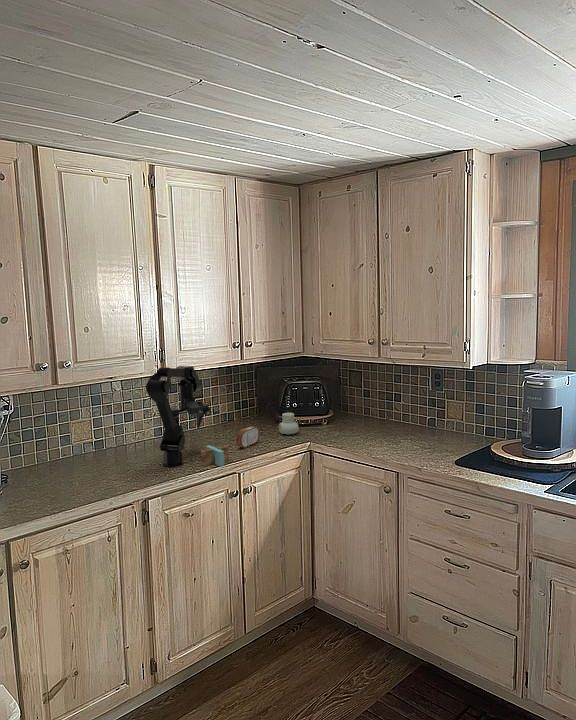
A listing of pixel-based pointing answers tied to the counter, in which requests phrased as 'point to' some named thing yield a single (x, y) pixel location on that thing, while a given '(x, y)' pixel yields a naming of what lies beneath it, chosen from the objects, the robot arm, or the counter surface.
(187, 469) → the counter surface
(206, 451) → the notched walnut block
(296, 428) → the air freshener
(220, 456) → the notched teal slat
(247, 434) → the tin
